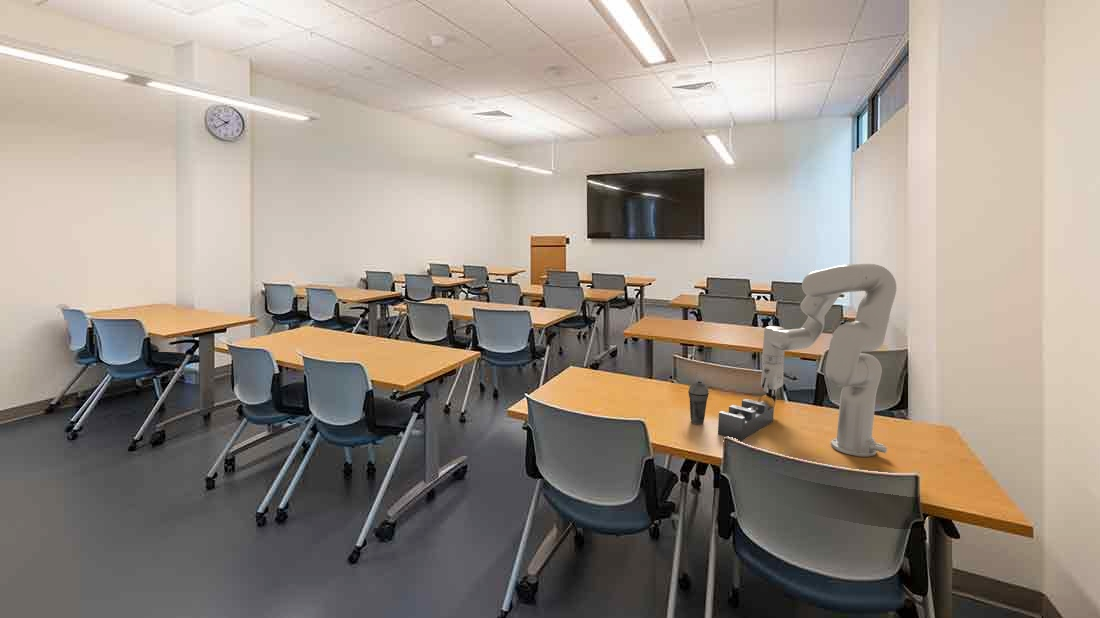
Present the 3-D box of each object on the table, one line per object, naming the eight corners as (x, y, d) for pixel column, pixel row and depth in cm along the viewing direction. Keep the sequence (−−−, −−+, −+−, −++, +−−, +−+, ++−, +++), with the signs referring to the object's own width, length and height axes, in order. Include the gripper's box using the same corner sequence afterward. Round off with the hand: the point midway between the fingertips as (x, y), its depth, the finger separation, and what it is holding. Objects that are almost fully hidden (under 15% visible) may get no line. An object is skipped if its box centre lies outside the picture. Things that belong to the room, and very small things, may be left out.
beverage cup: (709, 426, 179) (712, 373, 176) (689, 426, 179) (692, 373, 177) (704, 419, 186) (706, 367, 184) (684, 418, 187) (686, 367, 184)
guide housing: (772, 422, 183) (774, 400, 182) (741, 441, 166) (742, 417, 165) (750, 416, 189) (752, 395, 188) (717, 434, 172) (719, 411, 171)
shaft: (774, 412, 187) (775, 397, 186) (743, 430, 169) (745, 413, 169) (758, 408, 191) (759, 393, 190) (727, 425, 174) (728, 409, 173)
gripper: (774, 363, 180) (771, 411, 183) (791, 357, 190) (787, 402, 193) (754, 360, 185) (751, 406, 188) (771, 353, 196) (768, 398, 198)
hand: (770, 404), depth 190 cm, fingers closed
